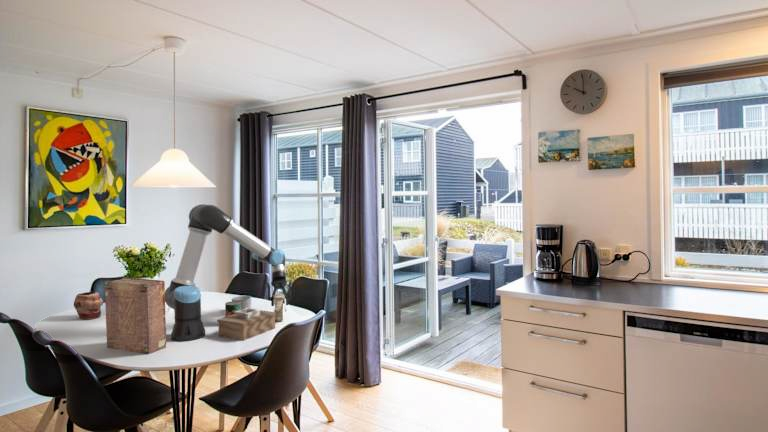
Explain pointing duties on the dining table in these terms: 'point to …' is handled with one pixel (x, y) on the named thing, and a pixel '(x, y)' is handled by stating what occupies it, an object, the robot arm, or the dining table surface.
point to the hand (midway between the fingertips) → (280, 310)
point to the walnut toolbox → (246, 323)
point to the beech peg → (279, 307)
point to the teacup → (243, 301)
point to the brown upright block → (135, 314)
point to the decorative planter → (88, 305)
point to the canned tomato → (232, 307)
